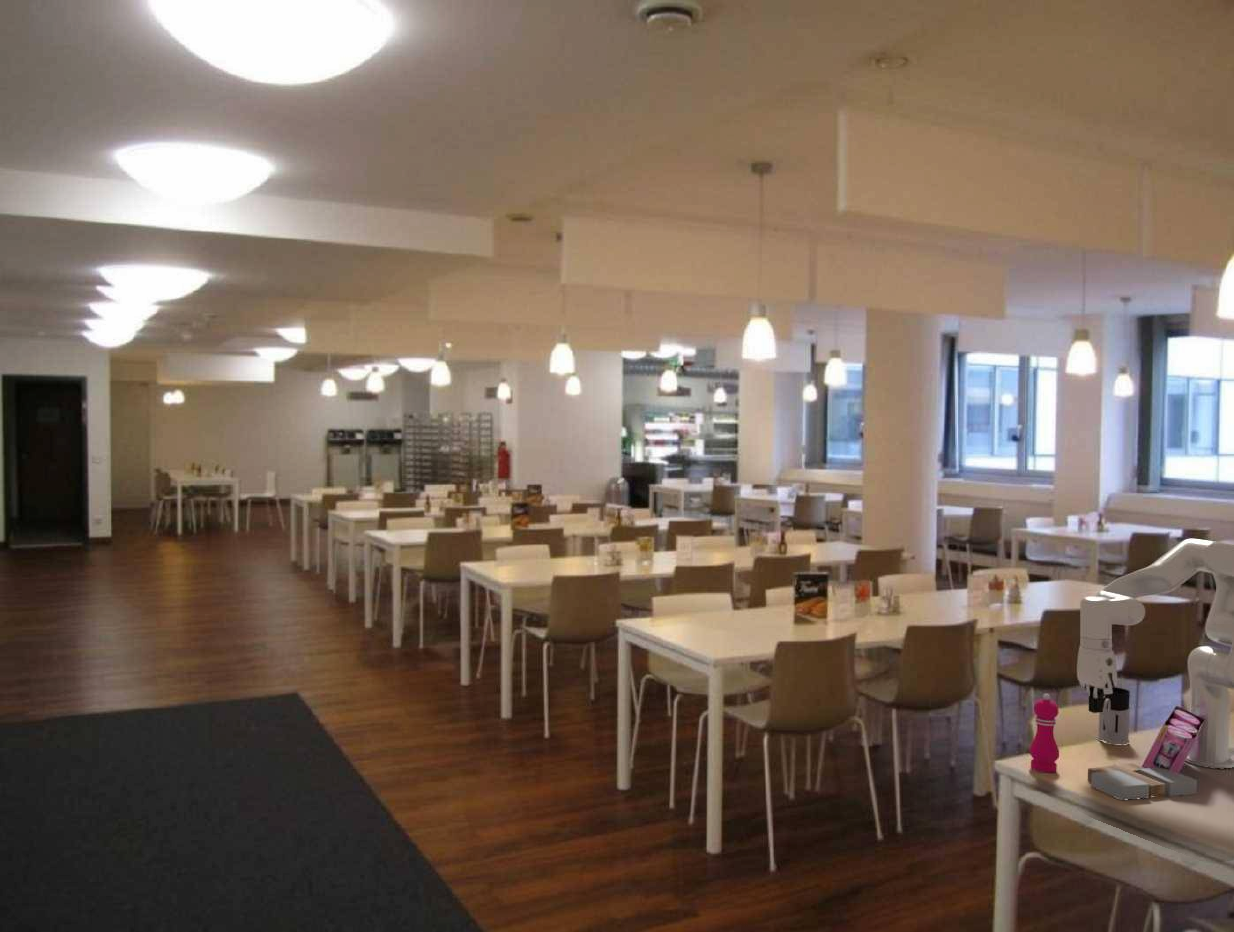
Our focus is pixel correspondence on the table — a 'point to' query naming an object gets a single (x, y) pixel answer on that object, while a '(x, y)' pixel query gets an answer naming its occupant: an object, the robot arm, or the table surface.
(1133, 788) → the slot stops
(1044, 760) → the pepper mill
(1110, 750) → the table surface
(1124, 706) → the white and black cylinder
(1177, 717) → the gum box
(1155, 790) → the t block
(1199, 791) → the table surface
